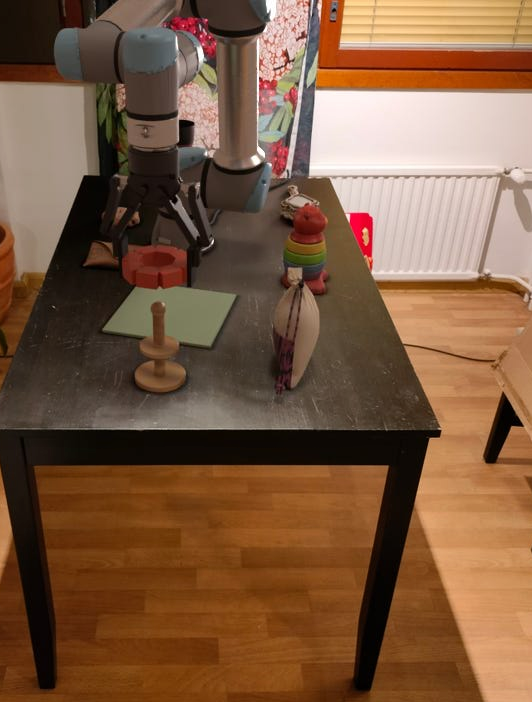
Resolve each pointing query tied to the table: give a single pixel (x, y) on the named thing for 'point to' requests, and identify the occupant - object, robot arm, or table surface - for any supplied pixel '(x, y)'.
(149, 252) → the ring
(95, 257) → the sunglasses case
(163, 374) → the ring post
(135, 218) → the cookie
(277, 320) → the pouch
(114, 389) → the table surface
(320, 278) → the stacking bear
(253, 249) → the table surface
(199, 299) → the mat
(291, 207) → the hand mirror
